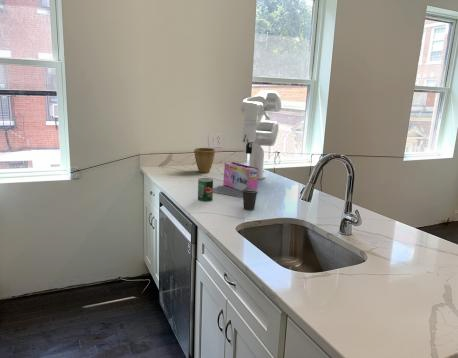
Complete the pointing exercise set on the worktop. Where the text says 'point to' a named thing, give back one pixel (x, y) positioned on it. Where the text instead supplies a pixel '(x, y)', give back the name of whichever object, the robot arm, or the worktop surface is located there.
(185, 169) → the worktop surface
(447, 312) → the worktop surface
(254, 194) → the dark tapered cylinder
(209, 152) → the plant pot
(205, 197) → the canned tomato
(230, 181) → the gum box
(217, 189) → the mat
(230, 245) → the worktop surface
